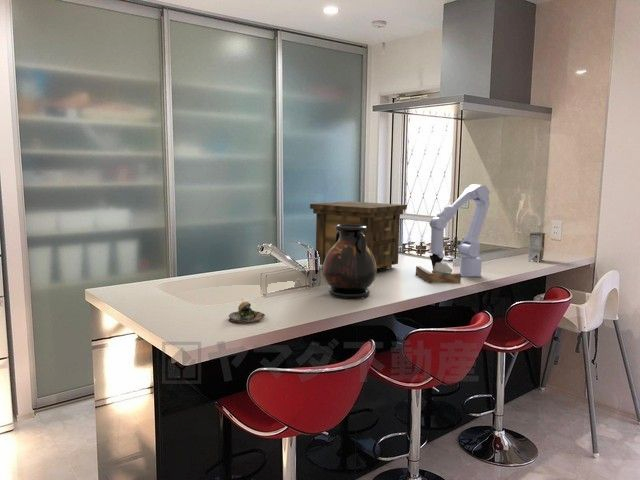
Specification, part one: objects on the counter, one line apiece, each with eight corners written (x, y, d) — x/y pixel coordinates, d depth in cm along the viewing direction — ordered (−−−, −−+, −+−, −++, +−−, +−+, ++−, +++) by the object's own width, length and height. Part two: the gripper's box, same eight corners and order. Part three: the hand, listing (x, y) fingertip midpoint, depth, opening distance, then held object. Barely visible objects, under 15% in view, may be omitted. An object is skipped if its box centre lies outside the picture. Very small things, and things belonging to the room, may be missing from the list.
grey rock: (449, 283, 241) (457, 265, 243) (433, 273, 240) (442, 256, 243) (442, 285, 248) (450, 268, 251) (426, 276, 248) (434, 259, 251)
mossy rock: (234, 327, 167) (234, 304, 166) (224, 317, 177) (224, 295, 176) (270, 323, 172) (270, 300, 171) (258, 314, 182) (258, 292, 181)
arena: (445, 274, 258) (446, 264, 258) (460, 282, 239) (461, 272, 239) (415, 274, 257) (416, 264, 256) (428, 282, 237) (429, 272, 237)
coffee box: (531, 259, 308) (533, 231, 306) (543, 260, 305) (545, 232, 302) (527, 261, 301) (529, 233, 299) (539, 262, 297) (541, 234, 295)
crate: (348, 260, 294) (349, 201, 289) (404, 268, 273) (406, 204, 268) (309, 268, 266) (310, 203, 262) (368, 278, 245) (370, 208, 241)
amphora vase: (387, 297, 208) (389, 227, 205) (342, 304, 197) (344, 229, 193) (355, 286, 226) (356, 222, 223) (312, 292, 215) (313, 224, 211)
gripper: (424, 240, 257) (422, 267, 259) (434, 244, 242) (432, 273, 244) (438, 240, 258) (436, 267, 259) (448, 244, 243) (447, 273, 245)
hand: (435, 270), depth 252 cm, fingers closed
